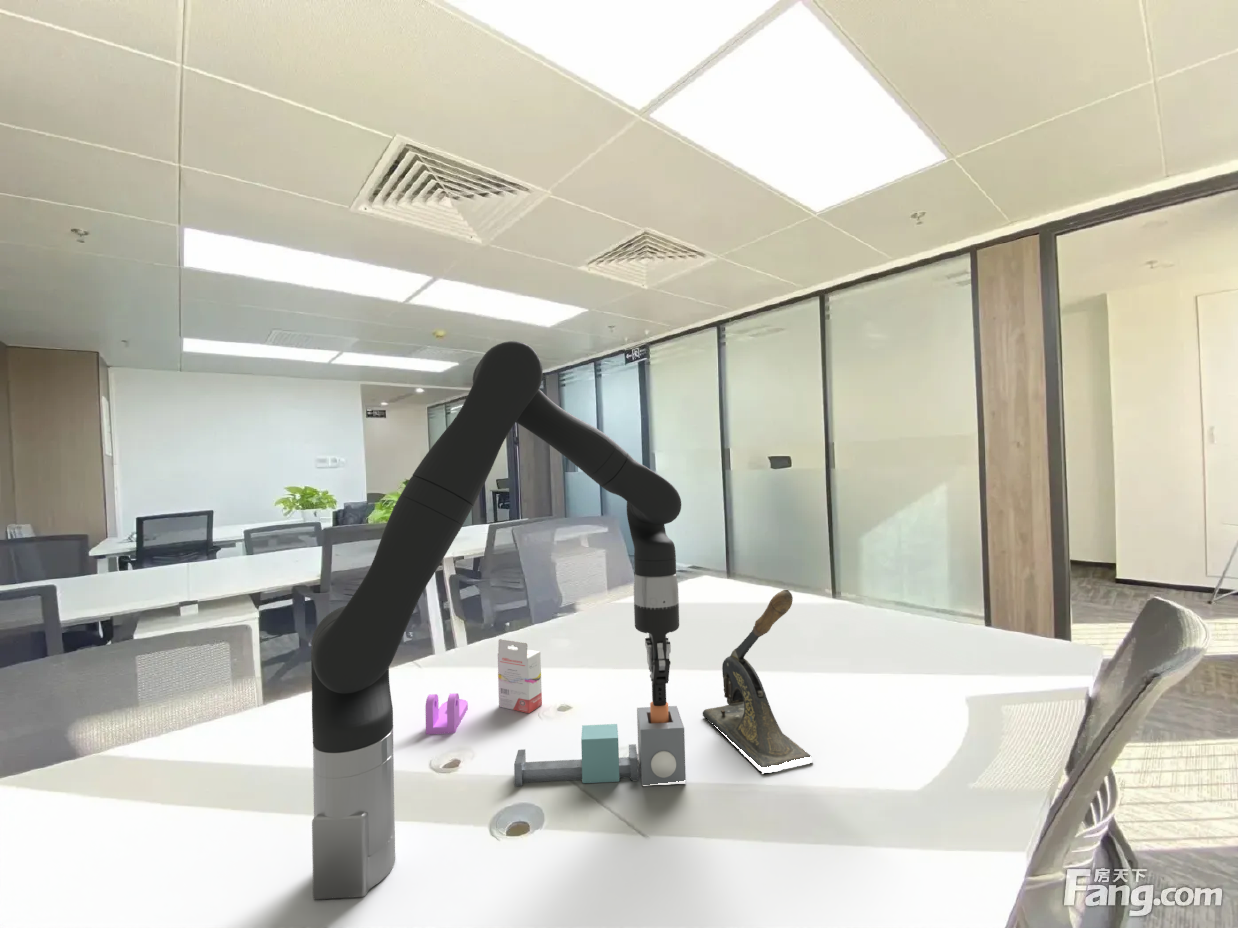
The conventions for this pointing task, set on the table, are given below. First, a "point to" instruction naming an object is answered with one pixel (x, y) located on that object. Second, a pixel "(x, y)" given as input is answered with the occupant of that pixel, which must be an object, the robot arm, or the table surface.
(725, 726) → the embossing press
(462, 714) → the bracket
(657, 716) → the gauge button
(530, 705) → the ink cartridge box
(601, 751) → the block
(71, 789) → the table surface
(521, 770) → the rail
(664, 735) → the cabinet
